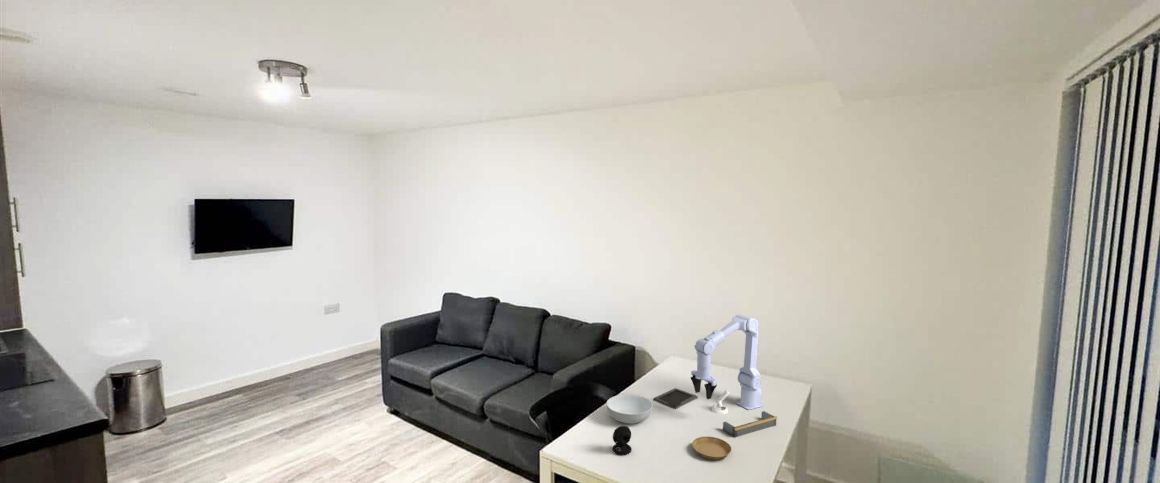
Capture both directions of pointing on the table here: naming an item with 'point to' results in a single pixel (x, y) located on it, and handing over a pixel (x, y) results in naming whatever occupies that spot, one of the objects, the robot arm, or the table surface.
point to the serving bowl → (629, 408)
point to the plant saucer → (711, 447)
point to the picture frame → (675, 398)
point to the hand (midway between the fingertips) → (703, 395)
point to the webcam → (622, 440)
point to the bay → (751, 425)
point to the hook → (720, 404)
